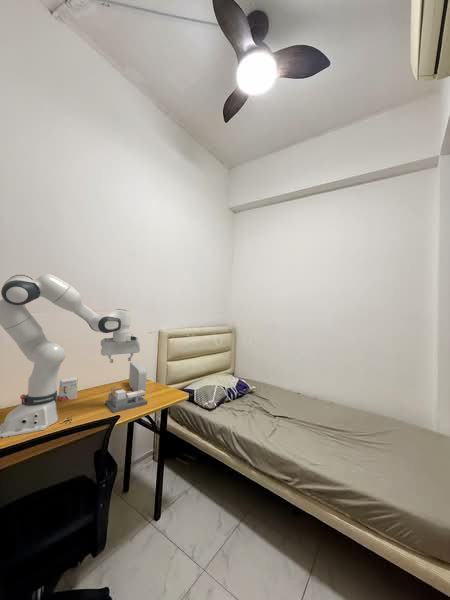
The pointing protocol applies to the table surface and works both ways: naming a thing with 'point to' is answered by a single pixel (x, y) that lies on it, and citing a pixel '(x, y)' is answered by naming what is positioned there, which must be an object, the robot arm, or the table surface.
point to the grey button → (120, 394)
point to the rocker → (135, 394)
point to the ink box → (68, 389)
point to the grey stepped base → (124, 403)
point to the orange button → (115, 390)
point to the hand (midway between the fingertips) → (120, 361)
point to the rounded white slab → (137, 377)
